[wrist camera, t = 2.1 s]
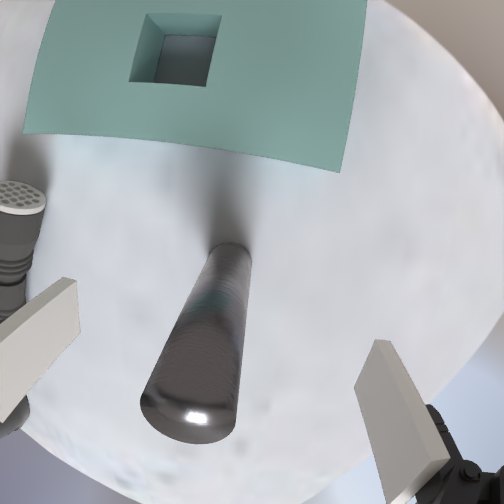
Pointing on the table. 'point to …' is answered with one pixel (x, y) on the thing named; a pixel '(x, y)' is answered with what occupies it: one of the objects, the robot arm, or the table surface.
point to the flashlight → (17, 240)
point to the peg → (203, 354)
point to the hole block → (219, 77)
